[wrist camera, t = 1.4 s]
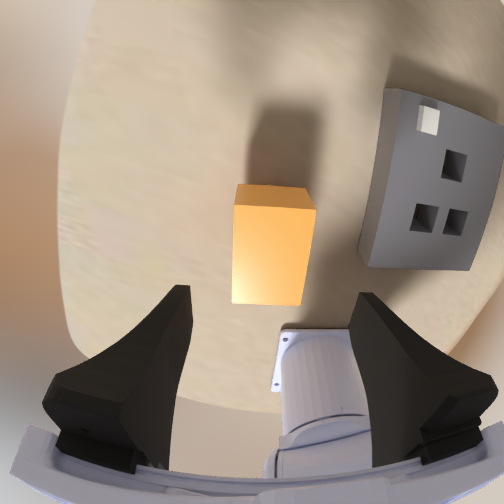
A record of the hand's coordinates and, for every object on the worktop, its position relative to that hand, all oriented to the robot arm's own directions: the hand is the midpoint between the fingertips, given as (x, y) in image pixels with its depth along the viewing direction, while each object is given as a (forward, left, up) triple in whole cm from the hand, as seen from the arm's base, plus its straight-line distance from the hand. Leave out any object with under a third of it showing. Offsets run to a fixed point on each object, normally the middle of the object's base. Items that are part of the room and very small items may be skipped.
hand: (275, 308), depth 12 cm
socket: (+4, -12, -9) cm, 16 cm away
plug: (0, 0, -9) cm, 9 cm away
